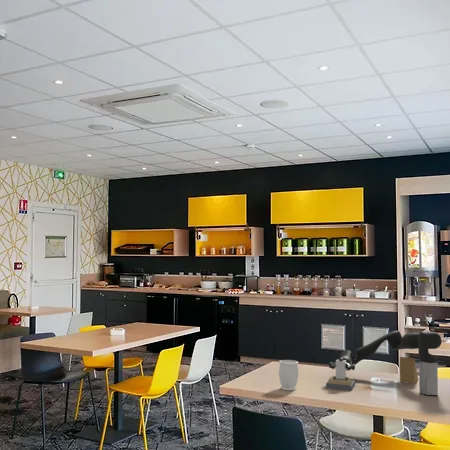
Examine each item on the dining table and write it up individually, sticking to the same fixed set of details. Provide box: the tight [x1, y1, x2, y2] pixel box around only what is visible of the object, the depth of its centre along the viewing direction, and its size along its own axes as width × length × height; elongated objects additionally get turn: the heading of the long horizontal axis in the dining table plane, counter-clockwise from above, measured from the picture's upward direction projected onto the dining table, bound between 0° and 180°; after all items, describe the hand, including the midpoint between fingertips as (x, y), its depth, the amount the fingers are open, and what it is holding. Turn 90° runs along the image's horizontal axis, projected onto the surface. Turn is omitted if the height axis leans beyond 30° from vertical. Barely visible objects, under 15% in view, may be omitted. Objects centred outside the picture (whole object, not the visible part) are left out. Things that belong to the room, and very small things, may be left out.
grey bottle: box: [335, 357, 347, 381], centre depth 303 cm, size 5×5×13 cm
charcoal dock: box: [325, 375, 356, 392], centre depth 302 cm, size 14×14×4 cm
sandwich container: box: [399, 356, 419, 384], centre depth 323 cm, size 9×15×15 cm, turn 151°
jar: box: [278, 359, 299, 392], centre depth 294 cm, size 11×10×15 cm
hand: (340, 368), depth 301 cm, fingers open, 8 cm apart
